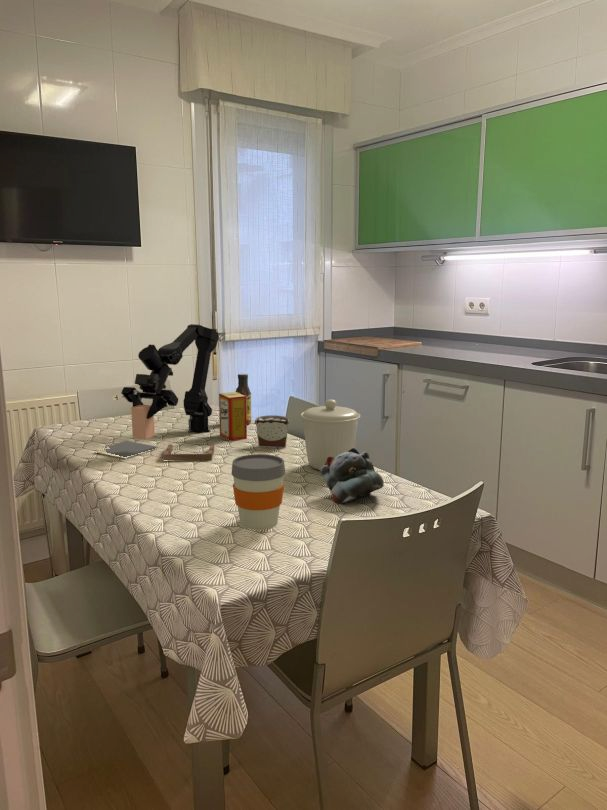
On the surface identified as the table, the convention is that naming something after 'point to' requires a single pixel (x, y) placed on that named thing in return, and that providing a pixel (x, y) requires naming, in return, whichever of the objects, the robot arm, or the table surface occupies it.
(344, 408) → the canister
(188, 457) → the walnut bay
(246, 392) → the sauce bottle
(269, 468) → the reusable coffee cup
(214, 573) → the table surface
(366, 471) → the grey stuffed animal
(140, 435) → the terracotta block
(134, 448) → the rubber mat
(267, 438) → the food container
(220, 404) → the baking soda box
